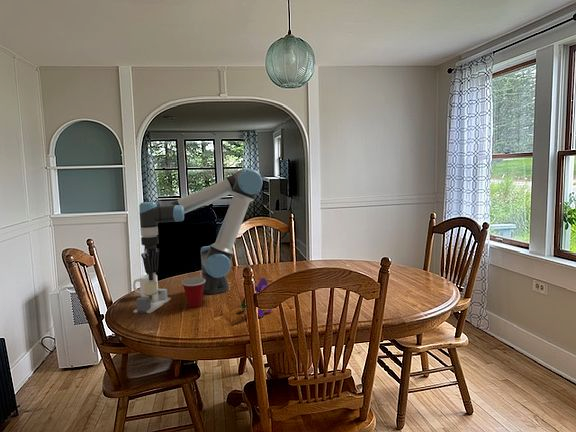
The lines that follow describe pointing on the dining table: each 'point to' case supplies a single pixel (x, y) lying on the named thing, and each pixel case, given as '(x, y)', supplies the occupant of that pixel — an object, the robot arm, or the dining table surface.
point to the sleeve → (151, 291)
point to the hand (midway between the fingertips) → (152, 286)
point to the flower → (258, 288)
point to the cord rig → (148, 307)
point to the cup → (142, 284)
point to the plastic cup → (194, 291)
